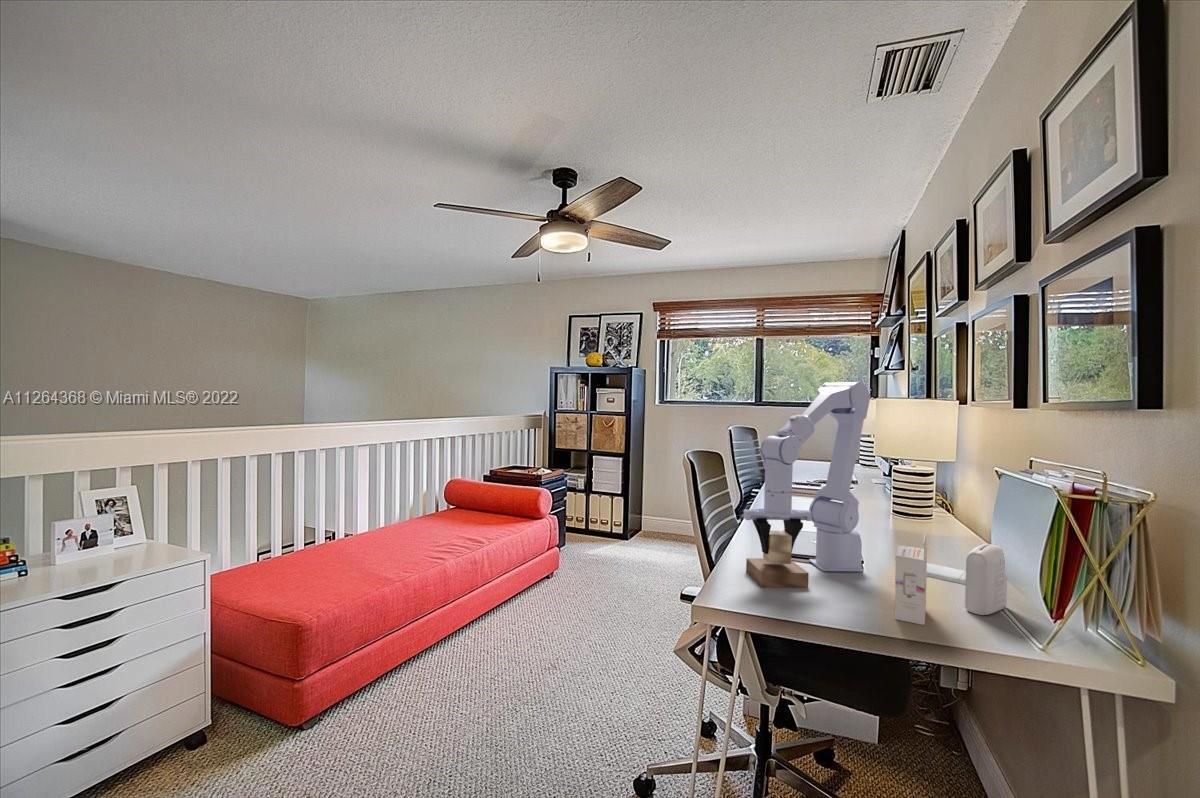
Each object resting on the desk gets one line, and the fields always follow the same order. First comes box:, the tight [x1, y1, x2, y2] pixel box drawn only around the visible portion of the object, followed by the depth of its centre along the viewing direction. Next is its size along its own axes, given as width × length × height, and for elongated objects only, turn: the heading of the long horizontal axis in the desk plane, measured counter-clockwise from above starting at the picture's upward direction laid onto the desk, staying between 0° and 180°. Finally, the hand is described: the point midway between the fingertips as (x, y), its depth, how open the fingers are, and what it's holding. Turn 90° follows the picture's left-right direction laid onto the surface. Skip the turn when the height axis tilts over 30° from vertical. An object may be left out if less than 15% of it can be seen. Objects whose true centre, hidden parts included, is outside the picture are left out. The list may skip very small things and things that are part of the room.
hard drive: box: [927, 562, 966, 585], centre depth 124 cm, size 2×8×12 cm
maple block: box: [762, 530, 793, 564], centre depth 117 cm, size 4×4×6 cm
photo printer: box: [964, 543, 1008, 616], centre depth 103 cm, size 10×4×12 cm, turn 123°
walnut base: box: [745, 557, 810, 588], centre depth 117 cm, size 10×10×3 cm
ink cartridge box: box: [894, 533, 928, 626], centre depth 99 cm, size 9×5×15 cm, turn 148°
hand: (776, 552), depth 117 cm, fingers closed on maple block, 4 cm apart
